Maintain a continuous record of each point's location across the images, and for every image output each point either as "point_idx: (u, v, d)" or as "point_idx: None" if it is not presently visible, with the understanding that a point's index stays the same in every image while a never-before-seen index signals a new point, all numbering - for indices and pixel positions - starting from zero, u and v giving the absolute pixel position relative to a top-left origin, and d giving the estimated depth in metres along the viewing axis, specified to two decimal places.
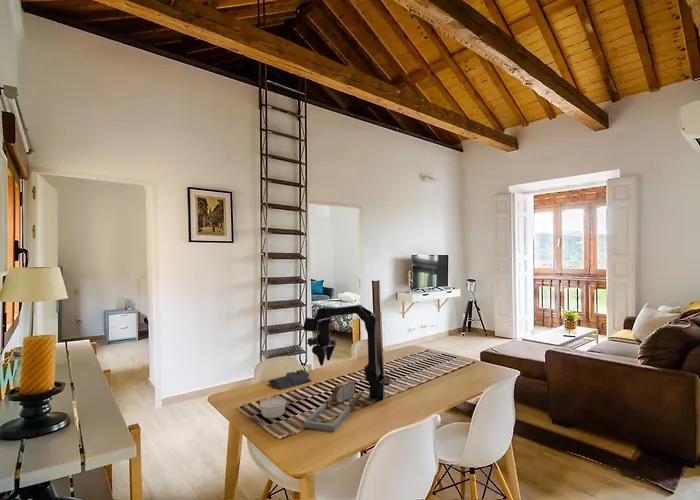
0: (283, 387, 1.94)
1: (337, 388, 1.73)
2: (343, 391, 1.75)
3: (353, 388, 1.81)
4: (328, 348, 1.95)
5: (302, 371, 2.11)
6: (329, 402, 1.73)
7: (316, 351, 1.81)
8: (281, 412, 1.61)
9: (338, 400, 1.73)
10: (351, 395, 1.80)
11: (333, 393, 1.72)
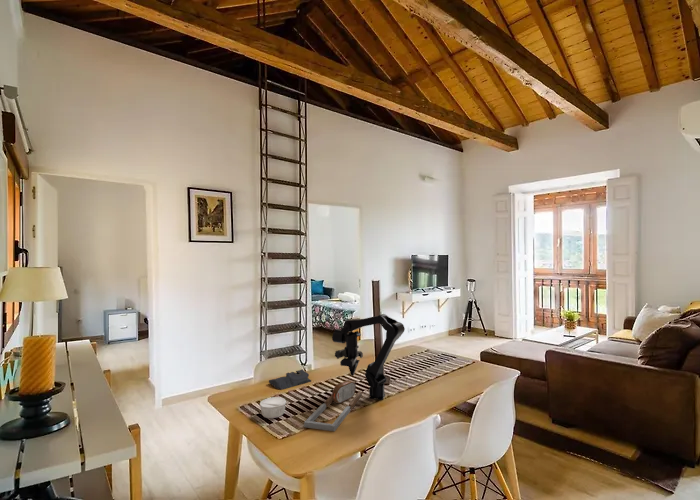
0: (283, 387, 1.94)
1: (337, 388, 1.73)
2: (343, 391, 1.75)
3: (353, 388, 1.81)
4: None
5: (302, 371, 2.11)
6: (329, 402, 1.73)
7: (345, 364, 1.80)
8: (281, 412, 1.61)
9: (338, 400, 1.73)
10: (351, 395, 1.80)
11: (333, 393, 1.72)
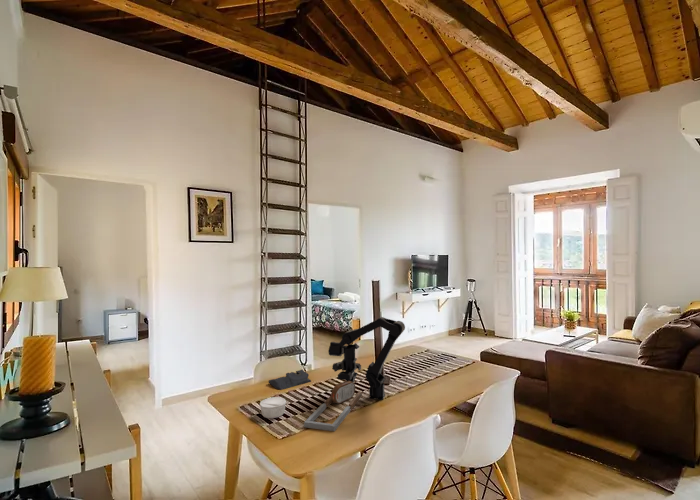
0: (283, 387, 1.94)
1: (336, 388, 1.72)
2: (342, 391, 1.75)
3: (352, 388, 1.81)
4: None
5: (302, 371, 2.10)
6: (329, 402, 1.73)
7: (342, 378, 1.77)
8: (281, 412, 1.61)
9: (337, 400, 1.72)
10: (350, 395, 1.80)
11: (332, 393, 1.72)
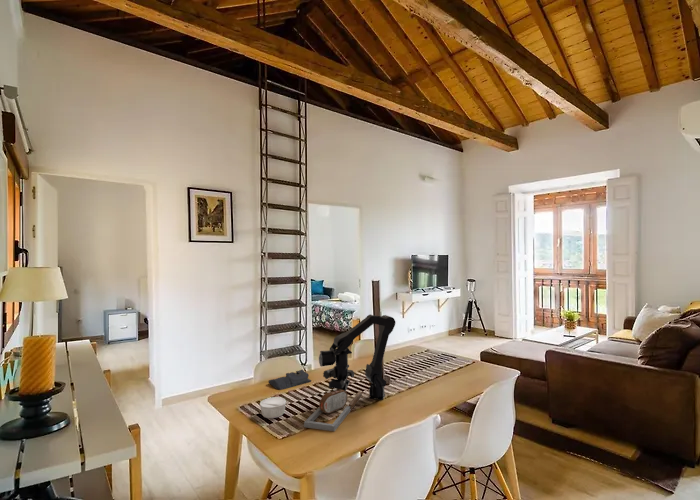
0: (282, 387, 1.94)
1: (325, 397, 1.62)
2: (332, 401, 1.64)
3: (344, 397, 1.69)
4: None
5: (302, 371, 2.10)
6: None
7: (333, 386, 1.66)
8: (281, 412, 1.61)
9: (326, 410, 1.61)
10: (342, 405, 1.68)
11: (320, 402, 1.61)
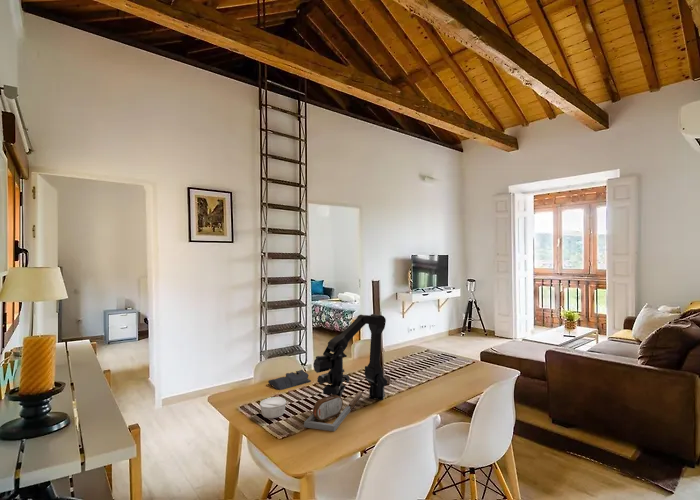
0: (282, 387, 1.94)
1: (318, 404, 1.55)
2: (326, 407, 1.57)
3: (339, 403, 1.62)
4: None
5: (302, 371, 2.10)
6: None
7: (328, 392, 1.59)
8: (281, 412, 1.61)
9: (319, 417, 1.55)
10: (337, 411, 1.62)
11: (314, 409, 1.55)
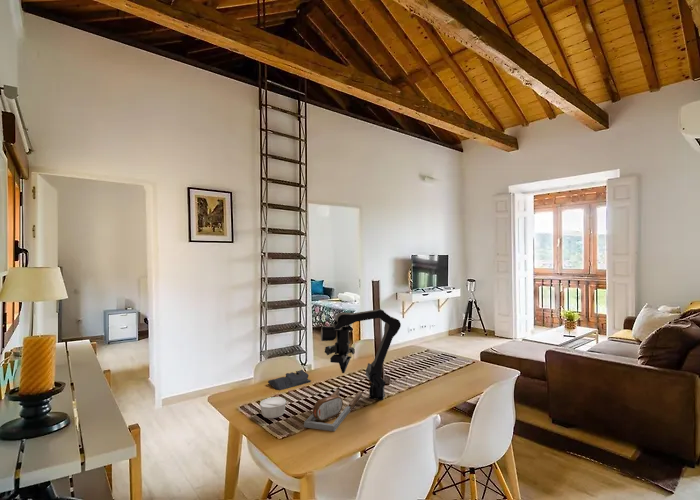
0: (282, 388, 1.94)
1: (318, 404, 1.55)
2: (326, 407, 1.57)
3: (339, 404, 1.62)
4: None
5: (302, 371, 2.10)
6: None
7: (335, 361, 1.69)
8: (281, 412, 1.61)
9: (319, 417, 1.55)
10: (337, 412, 1.62)
11: (314, 409, 1.55)
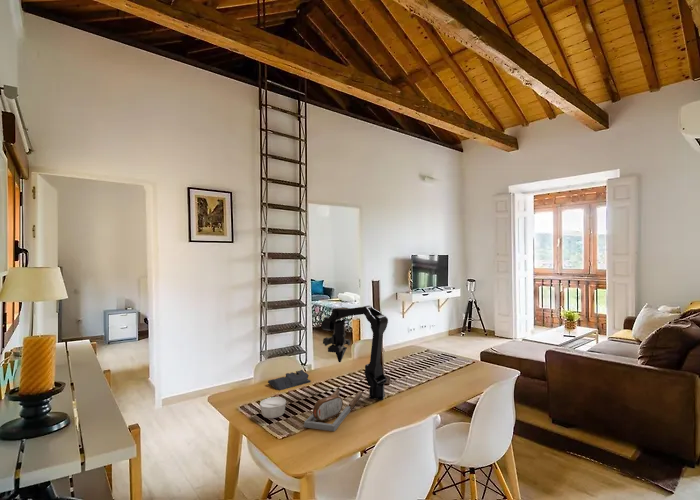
0: (282, 388, 1.94)
1: (318, 404, 1.55)
2: (326, 407, 1.57)
3: (339, 404, 1.62)
4: None
5: (302, 372, 2.10)
6: None
7: (332, 350, 1.87)
8: (281, 412, 1.61)
9: (319, 417, 1.55)
10: (337, 412, 1.62)
11: (314, 409, 1.55)
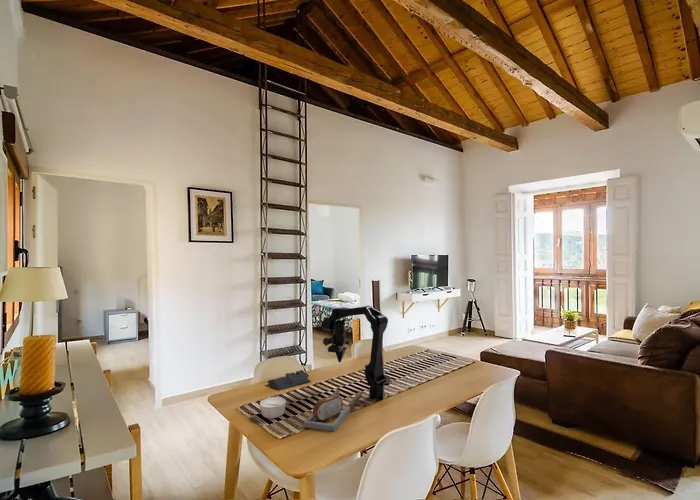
0: (281, 388, 1.94)
1: (318, 404, 1.55)
2: (326, 407, 1.57)
3: (339, 404, 1.62)
4: None
5: (302, 372, 2.10)
6: None
7: (332, 350, 1.87)
8: (281, 412, 1.61)
9: (319, 417, 1.55)
10: (337, 412, 1.62)
11: (314, 409, 1.55)
